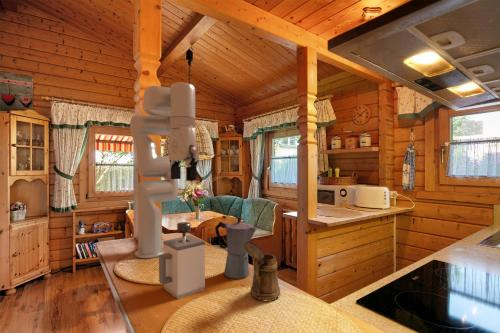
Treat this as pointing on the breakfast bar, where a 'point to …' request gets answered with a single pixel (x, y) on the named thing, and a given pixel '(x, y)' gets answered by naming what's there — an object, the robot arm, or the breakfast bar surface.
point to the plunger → (183, 229)
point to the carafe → (182, 266)
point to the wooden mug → (263, 273)
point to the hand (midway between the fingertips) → (183, 179)
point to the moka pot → (236, 247)
